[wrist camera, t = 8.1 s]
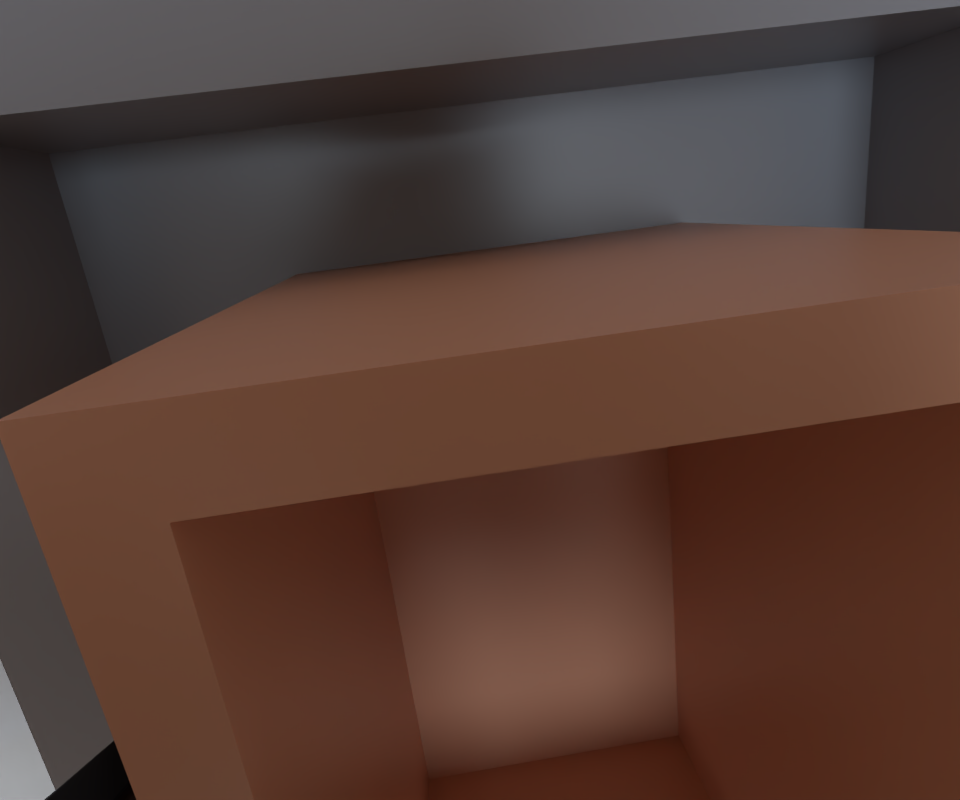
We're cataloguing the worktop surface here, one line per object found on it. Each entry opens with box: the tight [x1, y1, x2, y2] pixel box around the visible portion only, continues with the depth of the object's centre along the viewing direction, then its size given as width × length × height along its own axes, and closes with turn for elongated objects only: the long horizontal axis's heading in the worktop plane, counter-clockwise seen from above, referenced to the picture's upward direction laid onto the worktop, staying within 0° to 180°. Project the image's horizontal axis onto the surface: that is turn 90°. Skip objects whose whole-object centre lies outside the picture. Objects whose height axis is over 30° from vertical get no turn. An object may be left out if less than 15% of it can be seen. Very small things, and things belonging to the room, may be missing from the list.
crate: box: [0, 0, 960, 790], centre depth 10 cm, size 14×16×4 cm
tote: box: [0, 223, 960, 800], centre depth 8 cm, size 6×10×7 cm, turn 7°
